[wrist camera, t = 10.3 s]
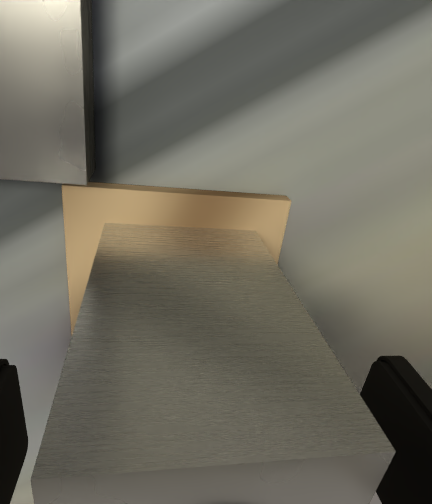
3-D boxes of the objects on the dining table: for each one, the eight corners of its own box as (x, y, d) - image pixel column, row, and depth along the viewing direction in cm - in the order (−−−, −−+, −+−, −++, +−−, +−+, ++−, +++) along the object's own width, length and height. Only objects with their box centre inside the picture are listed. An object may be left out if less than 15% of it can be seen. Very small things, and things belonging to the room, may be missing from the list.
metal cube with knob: (255, 230, 14) (403, 463, 6) (234, 344, 16) (318, 621, 8) (105, 222, 13) (25, 495, 5) (105, 345, 15) (55, 666, 7)
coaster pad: (286, 195, 14) (291, 200, 14) (252, 355, 18) (255, 364, 17) (65, 180, 12) (61, 185, 12) (76, 359, 16) (73, 369, 15)
